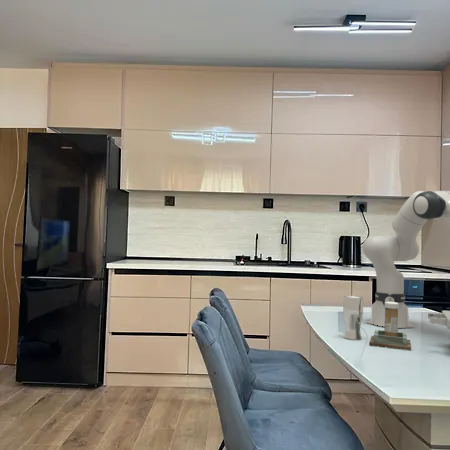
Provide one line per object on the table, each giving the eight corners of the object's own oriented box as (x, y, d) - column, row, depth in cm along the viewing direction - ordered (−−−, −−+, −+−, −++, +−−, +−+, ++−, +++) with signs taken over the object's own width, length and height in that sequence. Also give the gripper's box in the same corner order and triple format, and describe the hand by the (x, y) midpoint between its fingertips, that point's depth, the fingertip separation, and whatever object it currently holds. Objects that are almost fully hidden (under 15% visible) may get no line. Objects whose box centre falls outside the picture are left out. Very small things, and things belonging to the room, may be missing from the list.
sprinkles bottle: (381, 339, 148) (382, 301, 149) (393, 339, 149) (394, 301, 149) (388, 342, 144) (388, 303, 144) (400, 342, 144) (401, 303, 145)
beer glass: (338, 336, 156) (339, 295, 157) (354, 335, 158) (355, 295, 159) (350, 340, 149) (351, 298, 150) (366, 340, 152) (367, 298, 152)
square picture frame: (371, 338, 155) (371, 328, 155) (410, 342, 150) (410, 332, 150) (369, 345, 143) (369, 335, 143) (411, 350, 138) (411, 339, 138)
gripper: (471, 308, 147) (427, 304, 152) (481, 316, 128) (431, 312, 133) (470, 326, 146) (426, 322, 152) (481, 337, 127) (430, 332, 133)
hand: (428, 317), depth 142 cm, fingers open, 8 cm apart
